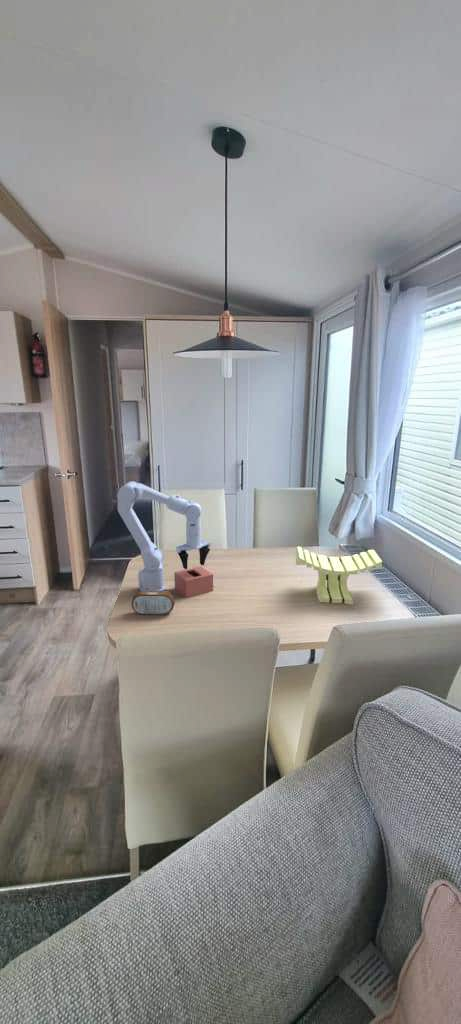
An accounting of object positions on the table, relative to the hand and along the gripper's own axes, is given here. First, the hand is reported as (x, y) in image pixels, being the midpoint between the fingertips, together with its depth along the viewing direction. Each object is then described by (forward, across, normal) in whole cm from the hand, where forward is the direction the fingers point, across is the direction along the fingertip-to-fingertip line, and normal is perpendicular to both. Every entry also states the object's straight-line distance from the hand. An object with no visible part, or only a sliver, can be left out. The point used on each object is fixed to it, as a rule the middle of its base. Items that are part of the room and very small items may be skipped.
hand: (193, 566), depth 172 cm
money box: (+10, 0, 0) cm, 10 cm away
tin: (+10, -22, -10) cm, 26 cm away
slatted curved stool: (+10, +45, -33) cm, 57 cm away
